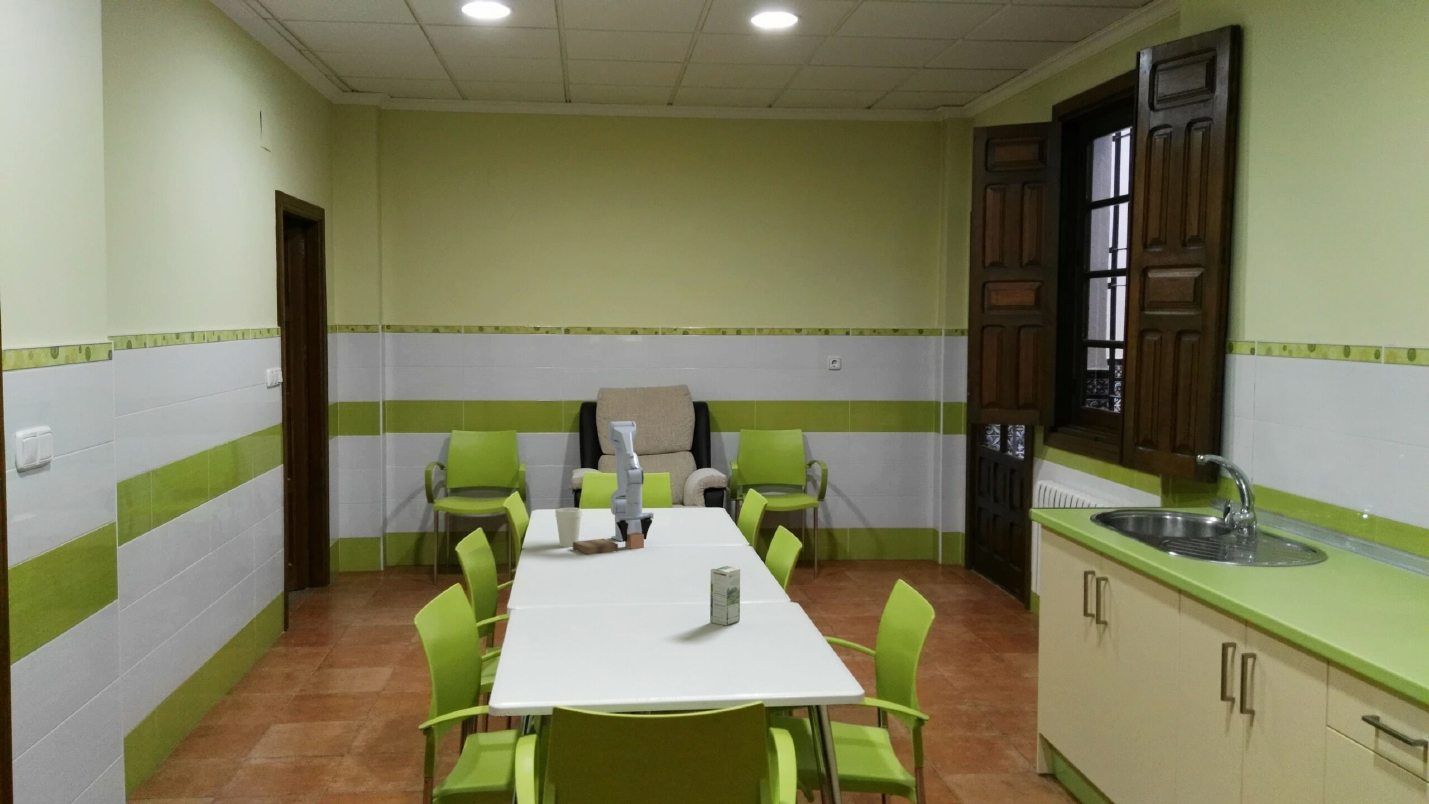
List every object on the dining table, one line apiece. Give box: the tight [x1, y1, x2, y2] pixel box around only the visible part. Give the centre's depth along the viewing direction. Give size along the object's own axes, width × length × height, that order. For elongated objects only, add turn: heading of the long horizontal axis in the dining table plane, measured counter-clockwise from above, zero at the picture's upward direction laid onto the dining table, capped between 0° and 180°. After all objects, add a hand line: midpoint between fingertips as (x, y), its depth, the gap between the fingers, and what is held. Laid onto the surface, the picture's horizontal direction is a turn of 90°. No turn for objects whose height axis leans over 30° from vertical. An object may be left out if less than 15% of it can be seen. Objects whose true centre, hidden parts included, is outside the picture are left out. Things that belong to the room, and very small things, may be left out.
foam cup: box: [554, 507, 583, 548], centre depth 383 cm, size 10×9×13 cm
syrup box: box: [709, 565, 741, 626], centre depth 279 cm, size 6×6×14 cm
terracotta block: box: [624, 532, 645, 550], centre depth 379 cm, size 5×5×5 cm
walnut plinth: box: [572, 538, 619, 556], centre depth 375 cm, size 12×12×3 cm
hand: (634, 539), depth 379 cm, fingers open, 7 cm apart
